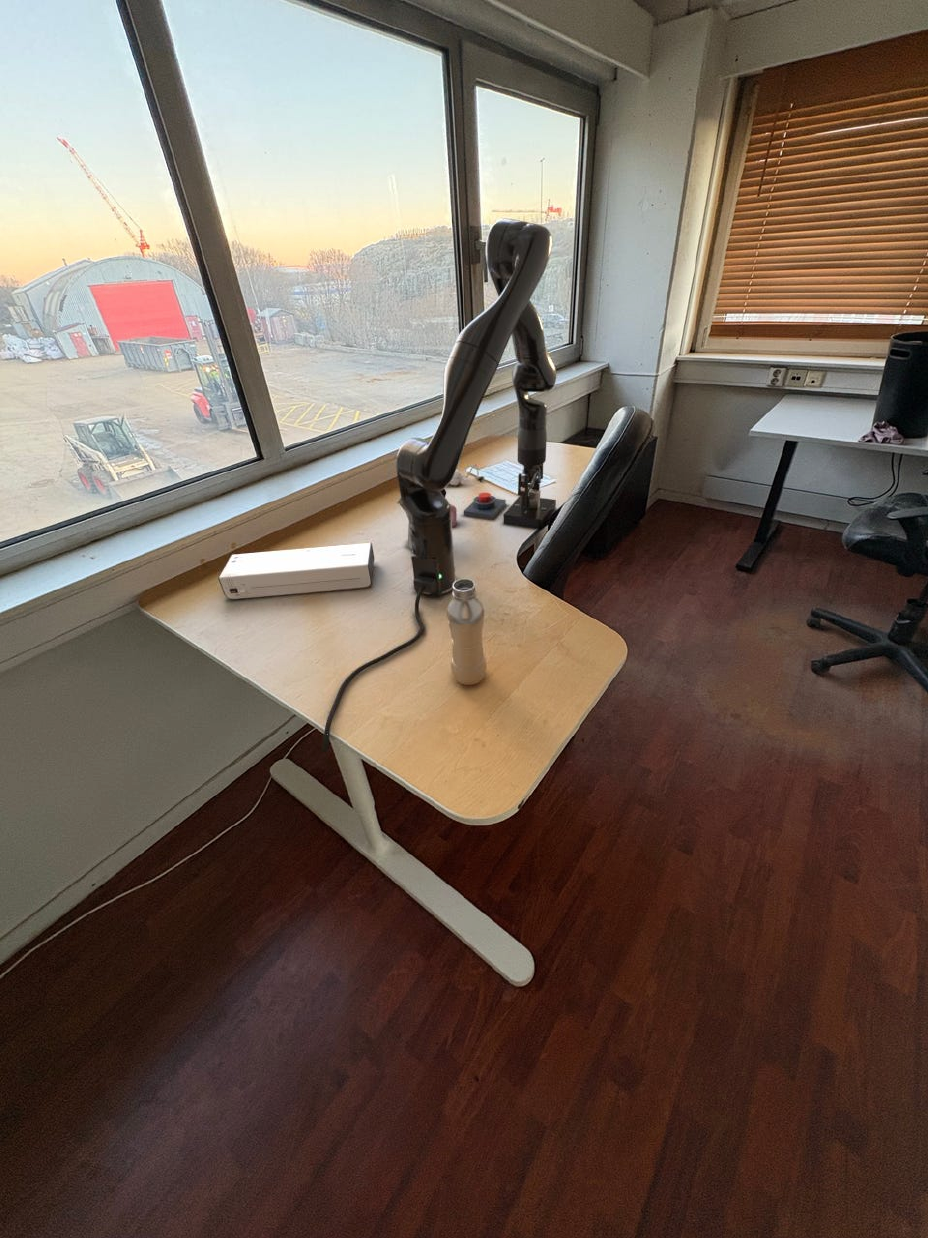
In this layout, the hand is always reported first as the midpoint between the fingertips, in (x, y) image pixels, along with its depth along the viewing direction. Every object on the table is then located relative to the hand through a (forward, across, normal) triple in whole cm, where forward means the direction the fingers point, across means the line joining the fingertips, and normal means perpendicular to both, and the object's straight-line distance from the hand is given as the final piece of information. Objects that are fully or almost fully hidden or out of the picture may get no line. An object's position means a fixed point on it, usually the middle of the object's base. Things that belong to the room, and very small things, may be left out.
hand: (530, 502), depth 142 cm
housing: (+4, 0, +14) cm, 15 cm away
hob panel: (+4, 0, 0) cm, 4 cm away
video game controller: (+5, -12, +23) cm, 26 cm away
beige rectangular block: (+1, 0, 0) cm, 1 cm away
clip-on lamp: (+5, +19, +32) cm, 37 cm away
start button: (+1, 0, +14) cm, 14 cm away
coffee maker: (+5, -24, +21) cm, 32 cm away
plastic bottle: (+5, -68, -12) cm, 69 cm away
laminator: (+5, -52, +39) cm, 66 cm away
